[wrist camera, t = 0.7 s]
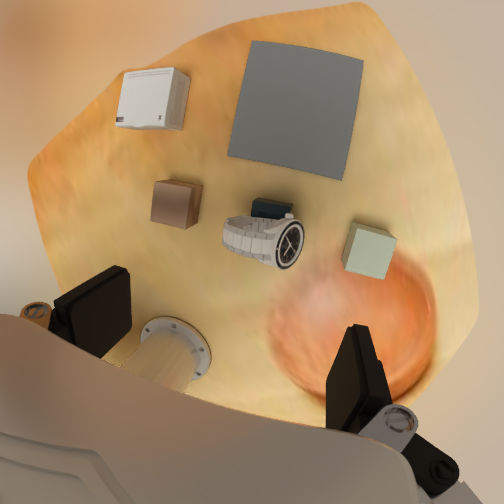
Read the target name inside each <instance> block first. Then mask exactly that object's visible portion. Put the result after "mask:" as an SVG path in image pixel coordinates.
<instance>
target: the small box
mask: <svg viewBox="0 0 504 504" xmlns="http://www.w3.org/2000/svg"><path fill="white" fill-rule="evenodd" d="M190 81H191V78H190V77H188V76H187V75H185V74H184V73H182V72H181V71H179V70H177V69H176V68H175V67H166V68H156V69H148V70H140V71H133V72H127V73H125V75H124V79H123V84H122V89H121V95H120V100H119V106H118V112H117V118H116V127H121V128H127V129H134V130H174V131H181V130H182V128H183V120H184V114H185V108H186V103H187V97H188V92H189V86H190Z"/></svg>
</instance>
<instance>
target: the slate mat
mask: <svg viewBox="0 0 504 504" xmlns="http://www.w3.org/2000/svg"><path fill="white" fill-rule="evenodd" d="M363 62H364V61H363V60H360V59H356V58H352V57H348V56H344V55H340V54H336V53H332V52H327V51H323V50H318V49H312V48H307V47H301V46H295V45H288V44H281V43H273V42H263V41H252V44H251V48H250V52H249V56H248V61H247V65H246V69H245V74H244V78H243V82H242V87H241V91H240V96H239V101H238V105H237V110H236V115H235V119H234V124H233V129H232V134H231V139H230V144H229V149H228V155H227V156H231V157H237V158H243V159H248V160H253V161H258V162H264V163H269V164H273V165H278V166H283V167H287V168H292V169H296V170H301V171H305V172H309V173H313V174H317V175H321V176H325V177H329V178H333V179H337V180H341V181H342V178H343V174H344V169H345V165H346V160H347V155H348V151H349V146H350V141H351V135H352V130H353V125H354V120H355V114H356V108H357V102H358V96H359V90H360V83H361V77H362V70H363Z"/></svg>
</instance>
